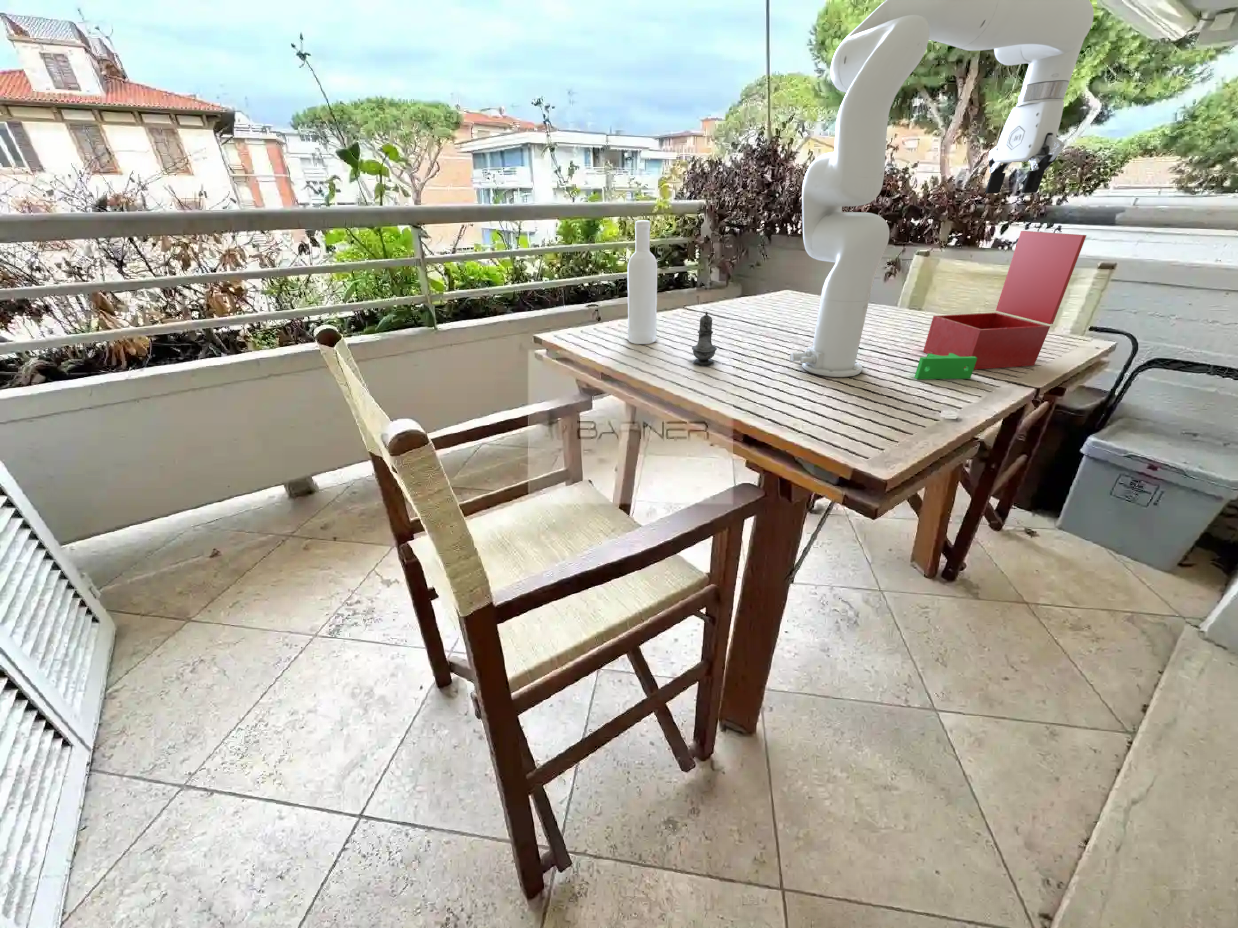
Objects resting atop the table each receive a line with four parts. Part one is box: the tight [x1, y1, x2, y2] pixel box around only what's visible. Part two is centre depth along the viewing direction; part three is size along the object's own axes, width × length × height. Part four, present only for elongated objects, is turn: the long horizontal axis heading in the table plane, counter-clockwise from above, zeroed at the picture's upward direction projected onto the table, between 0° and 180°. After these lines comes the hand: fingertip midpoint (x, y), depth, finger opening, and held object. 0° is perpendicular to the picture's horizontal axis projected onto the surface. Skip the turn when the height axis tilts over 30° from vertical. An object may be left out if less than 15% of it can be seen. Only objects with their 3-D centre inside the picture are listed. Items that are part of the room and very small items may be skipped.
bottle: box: [627, 219, 658, 345], centre depth 127 cm, size 8×8×30 cm
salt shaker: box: [691, 311, 718, 367], centre depth 113 cm, size 6×6×12 cm
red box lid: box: [995, 230, 1087, 325], centre depth 107 cm, size 18×15×5 cm
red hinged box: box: [922, 312, 1051, 370], centre depth 112 cm, size 17×15×9 cm
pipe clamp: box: [914, 353, 977, 380], centre depth 103 cm, size 11×4×5 cm, turn 89°
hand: (1009, 193), depth 106 cm, fingers open, 9 cm apart
